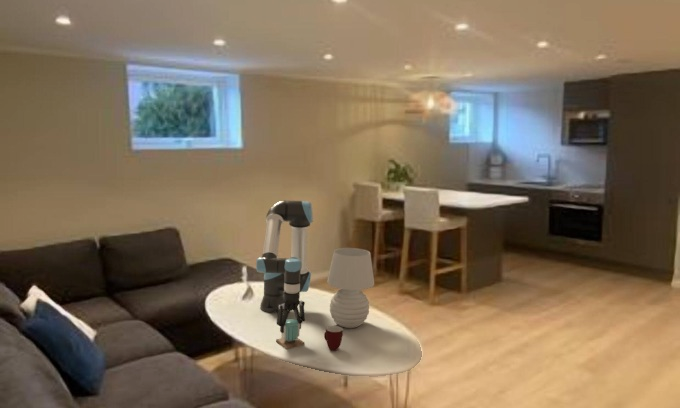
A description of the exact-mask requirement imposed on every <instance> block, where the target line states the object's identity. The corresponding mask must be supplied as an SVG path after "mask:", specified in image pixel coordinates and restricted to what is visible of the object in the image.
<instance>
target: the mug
mask: <svg viewBox="0 0 680 408" xmlns="http://www.w3.org/2000/svg"><path fill="white" fill-rule="evenodd" d="M343 333H344V329H343V327H341V326H339V325H337V326H336V325H331V326H327V327H326V328H325V332H324V334H323V335H324V336H323V337H324V340H325V341H326V344H327V348H328V349H329V351H332V352H333V351H339V348H340V346H341V344H342V339H343V335H344V334H343Z"/></svg>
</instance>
